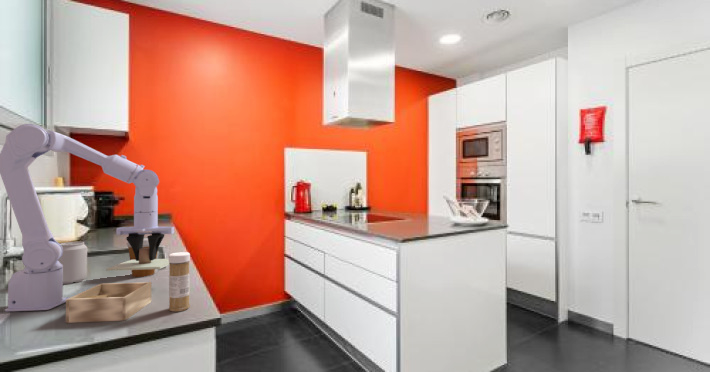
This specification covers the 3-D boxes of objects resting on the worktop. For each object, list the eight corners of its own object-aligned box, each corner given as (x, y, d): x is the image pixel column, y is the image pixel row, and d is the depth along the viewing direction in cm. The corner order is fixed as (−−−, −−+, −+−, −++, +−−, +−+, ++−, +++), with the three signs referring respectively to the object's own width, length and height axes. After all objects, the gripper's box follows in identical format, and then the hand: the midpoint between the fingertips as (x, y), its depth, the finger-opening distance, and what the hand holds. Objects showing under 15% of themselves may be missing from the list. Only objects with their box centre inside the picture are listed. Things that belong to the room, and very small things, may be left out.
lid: (106, 270, 87) (106, 252, 88) (131, 261, 100) (132, 246, 100) (159, 269, 89) (160, 251, 90) (178, 260, 102) (178, 245, 102)
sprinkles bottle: (186, 304, 85) (186, 250, 85) (192, 309, 81) (192, 253, 81) (165, 308, 81) (166, 253, 81) (171, 313, 78) (172, 256, 78)
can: (68, 285, 99) (68, 245, 99) (48, 284, 101) (48, 244, 101) (93, 278, 107) (93, 241, 107) (74, 277, 108) (74, 240, 108)
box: (65, 322, 73) (65, 299, 73) (100, 303, 85) (100, 283, 85) (125, 320, 74) (125, 297, 74) (151, 301, 86) (151, 282, 86)
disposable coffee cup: (141, 270, 117) (141, 236, 117) (166, 271, 116) (166, 237, 116) (118, 277, 108) (119, 240, 108) (145, 279, 107) (145, 241, 107)
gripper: (109, 213, 90) (109, 263, 90) (167, 212, 92) (166, 262, 92) (124, 211, 97) (124, 258, 97) (177, 211, 99) (177, 256, 99)
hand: (145, 259), depth 95 cm, fingers closed on lid, 3 cm apart
